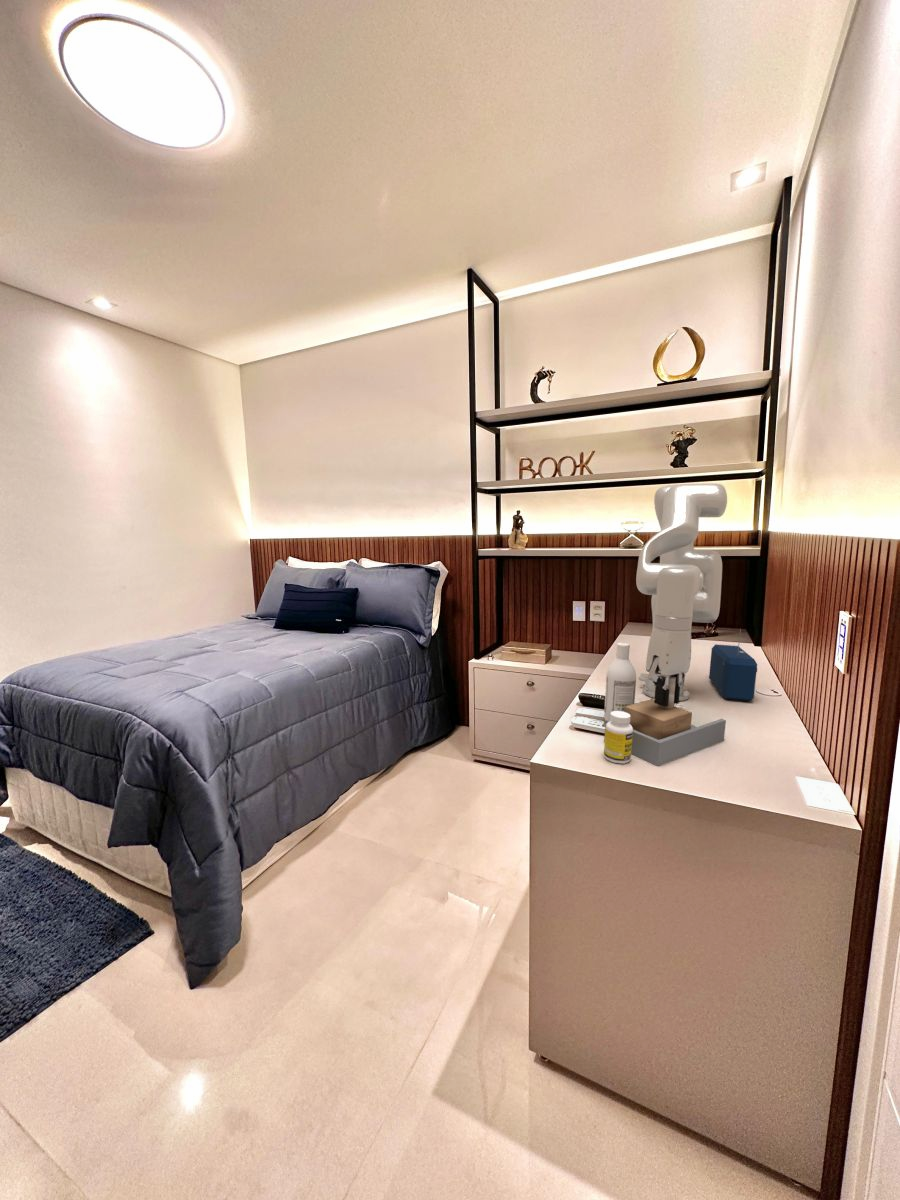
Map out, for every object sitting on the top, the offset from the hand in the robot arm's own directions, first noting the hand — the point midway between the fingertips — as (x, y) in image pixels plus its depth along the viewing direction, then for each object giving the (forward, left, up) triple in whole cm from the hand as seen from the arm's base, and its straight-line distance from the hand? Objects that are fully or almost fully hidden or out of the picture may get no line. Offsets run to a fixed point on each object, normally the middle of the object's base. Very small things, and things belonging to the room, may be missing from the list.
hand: (666, 702), depth 114 cm
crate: (0, -3, -8) cm, 9 cm away
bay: (0, 0, -9) cm, 9 cm away
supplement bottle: (0, -16, -9) cm, 19 cm away
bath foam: (-13, 0, -9) cm, 16 cm away
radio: (-12, +49, -10) cm, 52 cm away
